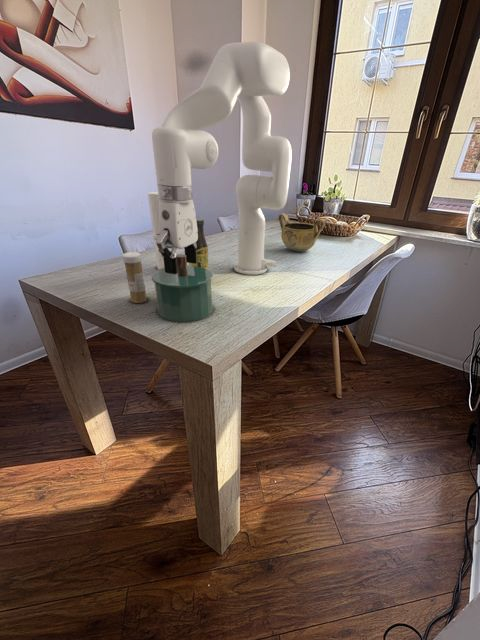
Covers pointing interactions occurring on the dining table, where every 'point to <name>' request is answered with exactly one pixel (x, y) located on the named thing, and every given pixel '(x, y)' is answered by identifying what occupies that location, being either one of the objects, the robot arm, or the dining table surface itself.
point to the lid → (182, 275)
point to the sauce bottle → (201, 247)
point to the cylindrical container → (156, 225)
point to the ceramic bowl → (299, 234)
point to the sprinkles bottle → (135, 276)
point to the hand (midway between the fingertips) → (181, 267)
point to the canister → (184, 302)
